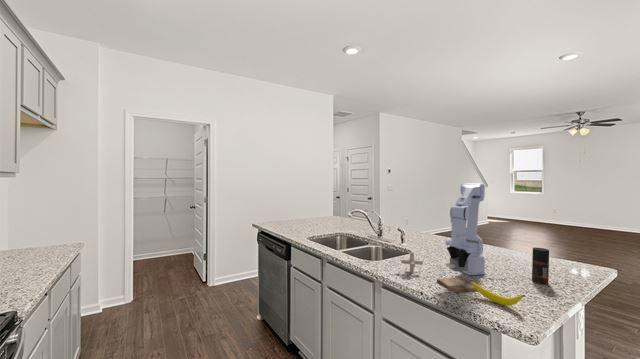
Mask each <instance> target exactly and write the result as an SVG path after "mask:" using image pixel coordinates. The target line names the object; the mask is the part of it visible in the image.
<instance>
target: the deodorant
mask: <svg viewBox="0 0 640 359" xmlns="http://www.w3.org/2000/svg"><path fill="white" fill-rule="evenodd" d="M531 259H532V262H531V263H532V264H531V265H532V266H531V267H532V268H531V281H533V282H532V283H535V284H538V285H542V284H543V285H544V286H546V285H547V284H548V285H549V281H550V280H549V278H550V276H549V272H550V268H549V267H550V249H548V248H545V247H536V246H535V247H532V258H531Z"/></svg>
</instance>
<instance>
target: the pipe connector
mask: <svg viewBox="0 0 640 359" xmlns="http://www.w3.org/2000/svg"><path fill="white" fill-rule="evenodd" d="M400 263H401V264H407V265H409V273H410V274H414V273H415V271H414V270H415V269H414V268H416V265H418V266H423V265H424V261H423V260H415V251H410V252H409V258H408V259H401V260H400Z"/></svg>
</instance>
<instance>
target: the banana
mask: <svg viewBox="0 0 640 359" xmlns="http://www.w3.org/2000/svg"><path fill="white" fill-rule="evenodd" d="M470 282H471V283H472V285H473V286H474V287H475V289H476V290H477V291H476V292H478V293H479V294H481V295H482V296H483V297H485V298H486V299H488V300H490V301H491V302H493V303H496V304H498V305H502V306H506V307H510V306H514V305H516V304H518V303H519V302H520V301H521V300H522V299H523V298H524V297H525V296H526V295H525V294H523V295H518V296H513V297H507V296H502V295H500V294H497V293H495V292H492V291H490V290H488V289H487V288H484V287H482V286H481V285H479V284H477V283H476V282H474V281H470Z"/></svg>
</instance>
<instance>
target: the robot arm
mask: <svg viewBox="0 0 640 359" xmlns="http://www.w3.org/2000/svg"><path fill="white" fill-rule="evenodd" d="M485 186H486V185H485V184H484V183H482V182H481V183H474V182H473V183H471V182H470V183H467V182H462V183H461V185H460V187H459V188H460V194H461V196H460V197H459V198H458V199H457V200H456V203H455V205H453V206H451V207H450V210H449V217H450V223H451V238H450V240H445V245H446V246H447V247H446V250H447V251H448V254H449V257H450V258H458V260H459V267H465V263H466V261H467V259H468V271H460V272H462V273H464V274H465V275H468V276H479V275H486V274H487V273H486V272H485V269H486V268H485V267H486V262H485V257H484V256H483V252H484V240H483V239H482V238H481V237H480V236H479V234H478V223H479V210H480V208H479V206H480V203H481V202H483V201H484V199H485V191H486V190H485V189H486V188H485Z"/></svg>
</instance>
